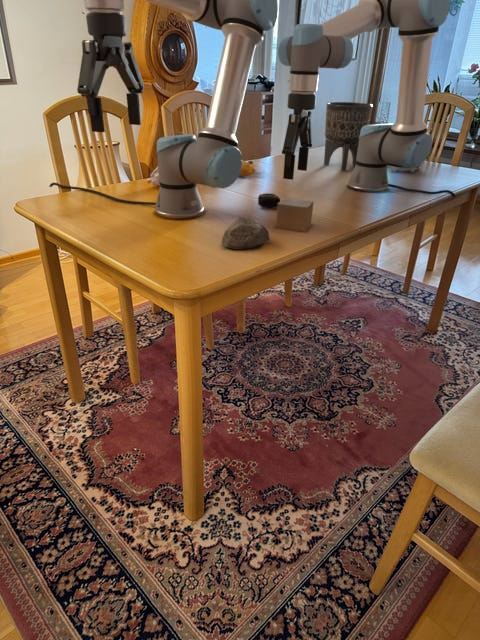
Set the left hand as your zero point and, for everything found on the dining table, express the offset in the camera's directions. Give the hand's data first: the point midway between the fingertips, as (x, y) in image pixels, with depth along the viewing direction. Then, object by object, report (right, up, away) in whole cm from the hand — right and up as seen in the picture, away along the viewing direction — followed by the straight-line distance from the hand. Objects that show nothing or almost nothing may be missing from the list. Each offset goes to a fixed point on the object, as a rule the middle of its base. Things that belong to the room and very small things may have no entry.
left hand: (117, 128), depth 101 cm
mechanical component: (+104, +28, +110) cm, 154 cm away
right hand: (+43, 0, +31) cm, 53 cm away
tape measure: (+37, -5, +51) cm, 63 cm away
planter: (+74, +28, +110) cm, 136 cm away
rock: (+29, -22, +21) cm, 42 cm away
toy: (+28, +19, +92) cm, 98 cm away
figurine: (-2, +9, +73) cm, 73 cm away
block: (+43, -15, +35) cm, 57 cm away
